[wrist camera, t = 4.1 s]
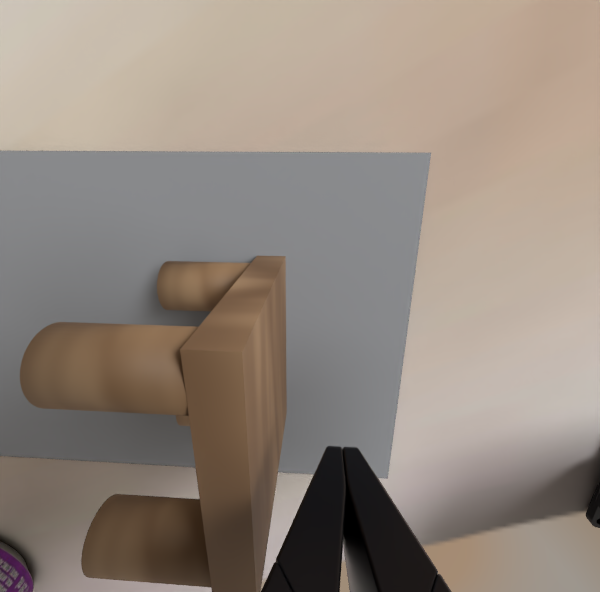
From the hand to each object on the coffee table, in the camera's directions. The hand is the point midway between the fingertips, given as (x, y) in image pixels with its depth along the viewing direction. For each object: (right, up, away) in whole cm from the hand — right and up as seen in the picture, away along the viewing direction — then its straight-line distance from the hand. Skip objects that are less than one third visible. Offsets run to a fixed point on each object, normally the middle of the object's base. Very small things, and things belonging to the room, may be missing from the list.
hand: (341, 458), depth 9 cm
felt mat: (-8, +3, +7) cm, 11 cm away
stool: (-4, +2, +6) cm, 8 cm away
